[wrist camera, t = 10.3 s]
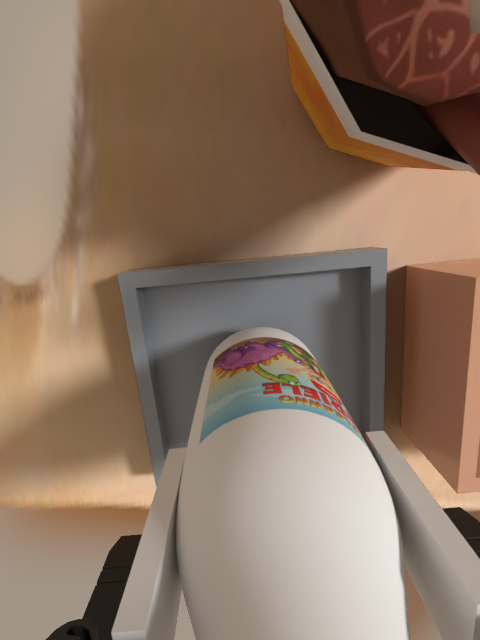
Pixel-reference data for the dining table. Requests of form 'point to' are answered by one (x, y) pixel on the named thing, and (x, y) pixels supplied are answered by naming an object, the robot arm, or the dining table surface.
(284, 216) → the dining table surface
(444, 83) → the bucket of meat
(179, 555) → the milk bottle
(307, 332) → the tray
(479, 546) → the robot arm
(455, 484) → the deep holder
